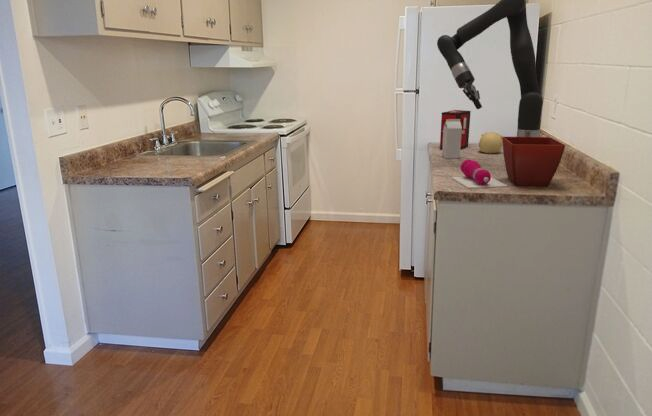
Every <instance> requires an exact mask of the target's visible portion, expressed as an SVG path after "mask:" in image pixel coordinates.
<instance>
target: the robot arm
mask: <svg viewBox="0 0 652 416" xmlns="http://www.w3.org/2000/svg"><path fill="white" fill-rule="evenodd" d="M527 17H528V15H527V1H526V0H500V1H498V2H497V3H496V4H495V5H493V6H492V7H491V8H488V10H486V11H485V12H483V13H481V14H480V15H479V16H477V17H475V18H473V19H471V20H470V21H468V22H467V23H464V24H463V25H462V26H459V28H457V30H456V32H455V34H453V35H452V36H450V35H448V34H443V35H441V36H440V37H438V39H437V40H436V41H437V42H436V45H437V46H436V47H437V49H438V51H439V53H440V54H441V55H442V57H443V59H444V60H445V61H446V64H447V66H448V67H449V70H450V72H451V74H452V77H453V79H454V81H455V82H456V85H457V87H458V88H459V89H462V92H463V93H464V95H465V96H466V97H467V98H468V100H469V101H471V102H472V103H473V105H474V107H475V108H476V109H475V110H480V109H482V108H483V106H482V104H481V103H482V102H481V101H480V100H481V96H480V95H481V94H480V91H479V90H477V88H476V86H475V85H474V84H473V83H474V82H475V79H476V78H475V77H474V75H473V73H472V71H471V69H470V67H469V65H468V64H467V63H466V61H465V59H464V56H463V54H462V53H460V52H459V51H458V50H459V49H460V48H461V47H463V46H464V44H466V43H467V42H469V41H471V40H472V39H474V38H476V37H478V36H479V35H481V34H482V33H483V32H485V31H486V30H488V29H489V28H490V27H491V26H493V25H494V24H496V23H497V22H500V21H501V20H504V19H506V20H507V23H508V26H509V27H508V28H509V47H510V56H511V61H512V65H513V69H514V71H515V75H516V77H517V80H518V83H519V88H520V89H519V91H520V100H519V104H518V113H517V115H518V116H517V131H516V137H540V130H541V119H542V111H543V105H544V104H543V103H544V99H543V96H542V93H541V90H540V87H539V83H538V78H537V63H536V62H537V61H536V53H535V48H534V44H533V39H532V36H531V33H530V29H529V25H528V20H527V19H528V18H527Z"/></svg>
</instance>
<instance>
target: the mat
mask: <svg viewBox="0 0 652 416" xmlns="http://www.w3.org/2000/svg"><path fill="white" fill-rule="evenodd" d="M450 179H452V180H453V181H455V182H456V183H458V184H460V185H461V186H463V187H465V188H467V189H488V188H508V187H509V186H508V184H505V183H503V182H501V181H499V180H498V179H495V178H493V177H491V179H490V181H489V182H488V183H487V184H485V185H480V184H478V183H477V182H476V181H475V179H474V178H468V177H466V176H465V175H464V176H450Z"/></svg>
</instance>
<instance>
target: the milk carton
mask: <svg viewBox="0 0 652 416" xmlns="http://www.w3.org/2000/svg"><path fill="white" fill-rule="evenodd" d="M461 133H462V127H461V123H460V119H446V122H445V124H444V129H443V147H442V150H441V157H443V158H445V159H461V150H460V148H461Z"/></svg>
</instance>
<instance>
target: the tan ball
mask: <svg viewBox="0 0 652 416" xmlns="http://www.w3.org/2000/svg"><path fill="white" fill-rule="evenodd" d="M503 137H504V136H503V134H499V133H497V132H494V131H491V132H484V133H482V134H481V137H480V138H479V142H478V149H479V150H480V151H481V152H482V153H486V154H496V153H499V152H500V151H501V149H502V148H503Z"/></svg>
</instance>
